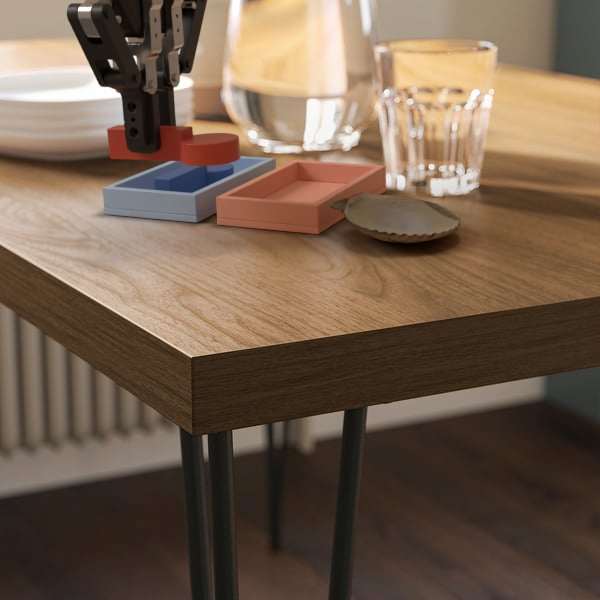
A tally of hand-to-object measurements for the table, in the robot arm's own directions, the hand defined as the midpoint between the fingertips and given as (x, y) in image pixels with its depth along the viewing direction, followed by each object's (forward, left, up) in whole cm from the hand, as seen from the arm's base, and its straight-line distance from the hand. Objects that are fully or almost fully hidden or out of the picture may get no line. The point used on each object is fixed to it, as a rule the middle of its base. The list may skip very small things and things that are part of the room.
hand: (152, 147), depth 76 cm
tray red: (-12, +5, -6) cm, 14 cm away
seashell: (-6, +15, -7) cm, 17 cm away
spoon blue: (-12, -4, -6) cm, 14 cm away
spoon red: (0, +2, -1) cm, 2 cm away
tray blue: (-12, -4, -6) cm, 14 cm away
